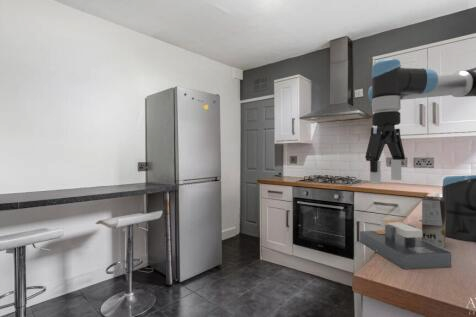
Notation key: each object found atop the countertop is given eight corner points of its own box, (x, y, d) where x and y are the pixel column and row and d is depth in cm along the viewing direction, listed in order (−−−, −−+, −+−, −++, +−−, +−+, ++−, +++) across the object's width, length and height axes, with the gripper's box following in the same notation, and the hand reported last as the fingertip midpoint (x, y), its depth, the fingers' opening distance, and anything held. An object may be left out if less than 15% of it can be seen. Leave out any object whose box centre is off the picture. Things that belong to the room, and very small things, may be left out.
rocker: (394, 225, 89) (394, 219, 89) (422, 237, 77) (422, 229, 77) (380, 226, 89) (380, 219, 89) (406, 237, 77) (406, 230, 77)
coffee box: (444, 249, 86) (445, 200, 86) (421, 245, 90) (421, 198, 90) (445, 241, 93) (445, 197, 93) (423, 238, 97) (423, 195, 97)
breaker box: (396, 240, 95) (396, 216, 95) (451, 266, 73) (451, 235, 73) (359, 242, 94) (359, 217, 93) (404, 269, 72) (404, 237, 71)
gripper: (391, 116, 90) (391, 177, 90) (352, 110, 75) (352, 183, 76) (416, 113, 84) (416, 179, 84) (378, 106, 69) (379, 186, 70)
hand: (386, 181), depth 80 cm, fingers open, 13 cm apart
